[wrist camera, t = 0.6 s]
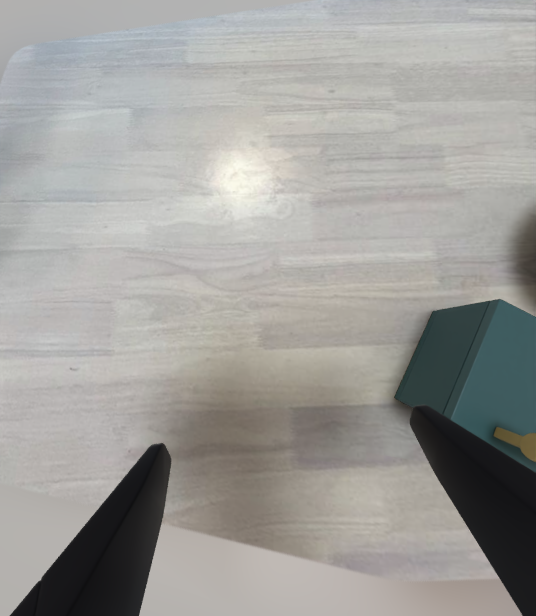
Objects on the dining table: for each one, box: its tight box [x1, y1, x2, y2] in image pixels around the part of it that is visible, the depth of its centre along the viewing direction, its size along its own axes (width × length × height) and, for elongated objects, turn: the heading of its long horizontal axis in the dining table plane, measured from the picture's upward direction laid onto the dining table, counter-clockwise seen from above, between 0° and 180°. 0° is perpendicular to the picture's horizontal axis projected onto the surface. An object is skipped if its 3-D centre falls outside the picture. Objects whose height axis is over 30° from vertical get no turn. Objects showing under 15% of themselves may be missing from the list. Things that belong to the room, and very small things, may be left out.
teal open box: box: [395, 301, 490, 415], centre depth 20 cm, size 10×11×6 cm
